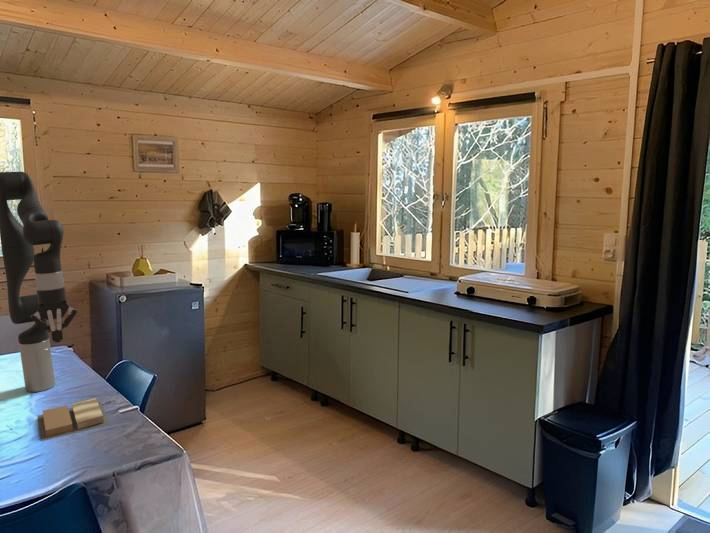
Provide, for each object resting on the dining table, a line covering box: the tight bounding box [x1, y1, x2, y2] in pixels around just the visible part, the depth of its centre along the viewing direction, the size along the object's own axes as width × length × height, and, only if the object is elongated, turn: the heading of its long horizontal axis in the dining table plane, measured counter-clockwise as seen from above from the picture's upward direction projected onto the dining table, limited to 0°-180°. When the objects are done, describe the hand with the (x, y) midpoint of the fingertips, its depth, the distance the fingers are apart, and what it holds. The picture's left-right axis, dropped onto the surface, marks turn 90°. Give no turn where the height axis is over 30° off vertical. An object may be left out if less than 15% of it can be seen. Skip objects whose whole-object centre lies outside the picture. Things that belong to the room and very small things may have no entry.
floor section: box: [37, 401, 111, 442], centre depth 168 cm, size 20×18×3 cm
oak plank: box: [71, 397, 104, 429], centre depth 170 cm, size 16×7×2 cm, turn 32°
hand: (57, 341), depth 171 cm, fingers closed
